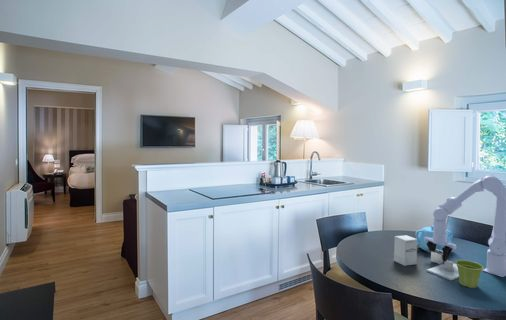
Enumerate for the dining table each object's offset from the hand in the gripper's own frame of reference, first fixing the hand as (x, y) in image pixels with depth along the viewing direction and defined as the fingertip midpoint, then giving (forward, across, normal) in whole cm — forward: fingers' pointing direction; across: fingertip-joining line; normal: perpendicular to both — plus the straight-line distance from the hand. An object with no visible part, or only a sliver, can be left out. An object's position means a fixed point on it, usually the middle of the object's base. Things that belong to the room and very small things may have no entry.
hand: (439, 259), depth 152 cm
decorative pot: (+2, -11, +14) cm, 18 cm away
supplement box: (+2, -8, -15) cm, 17 cm away
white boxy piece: (+1, 0, 0) cm, 1 cm away
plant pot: (+2, +20, -14) cm, 25 cm away
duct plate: (+1, +9, -7) cm, 11 cm away
